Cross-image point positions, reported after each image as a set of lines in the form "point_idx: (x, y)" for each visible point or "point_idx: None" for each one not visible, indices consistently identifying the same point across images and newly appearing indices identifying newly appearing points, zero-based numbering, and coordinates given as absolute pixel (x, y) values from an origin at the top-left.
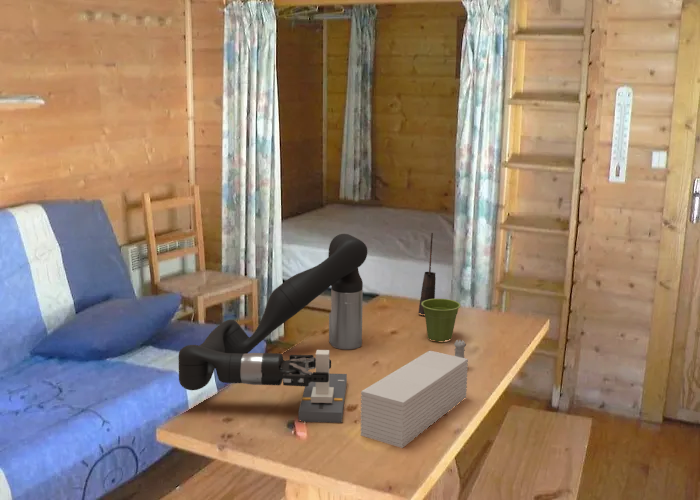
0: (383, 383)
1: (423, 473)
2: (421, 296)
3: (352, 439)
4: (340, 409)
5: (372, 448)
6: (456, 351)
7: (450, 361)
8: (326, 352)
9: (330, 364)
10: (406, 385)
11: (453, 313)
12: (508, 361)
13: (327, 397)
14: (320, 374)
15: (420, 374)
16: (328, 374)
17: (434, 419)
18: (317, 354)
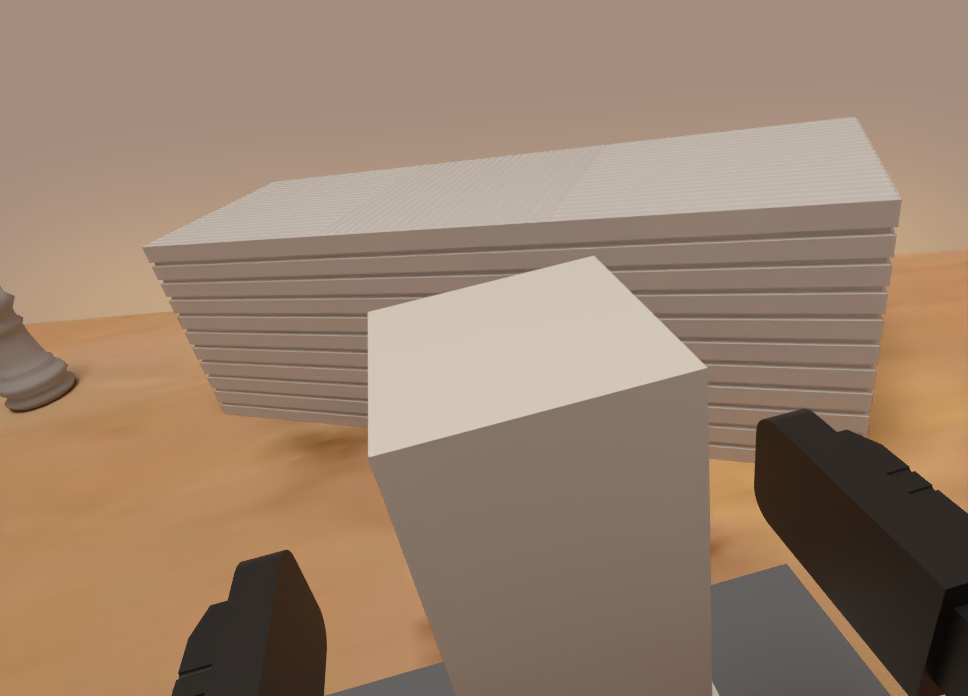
0: (674, 195)
1: (960, 254)
2: None
3: (953, 488)
4: (735, 592)
5: (950, 393)
6: (6, 331)
7: (299, 190)
8: (502, 296)
9: (307, 587)
10: (638, 162)
11: None
12: (43, 329)
13: (712, 685)
14: (880, 486)
15: (473, 181)
16: (793, 413)
17: None
18: (684, 351)
